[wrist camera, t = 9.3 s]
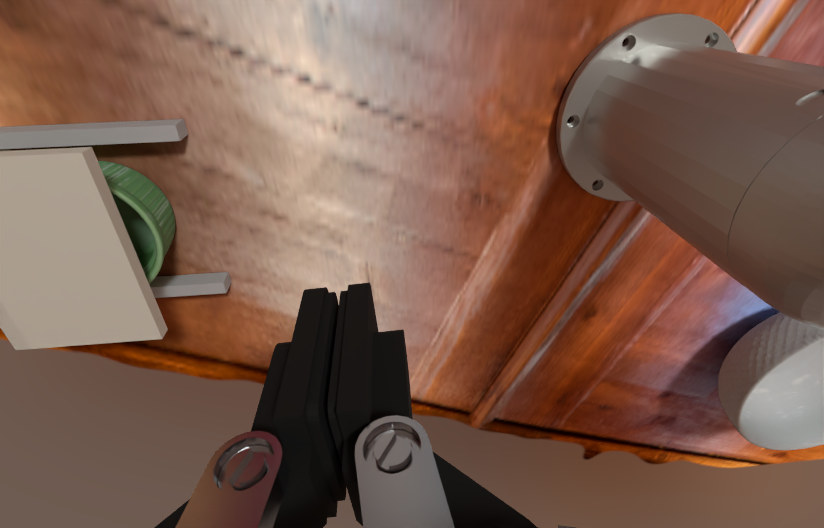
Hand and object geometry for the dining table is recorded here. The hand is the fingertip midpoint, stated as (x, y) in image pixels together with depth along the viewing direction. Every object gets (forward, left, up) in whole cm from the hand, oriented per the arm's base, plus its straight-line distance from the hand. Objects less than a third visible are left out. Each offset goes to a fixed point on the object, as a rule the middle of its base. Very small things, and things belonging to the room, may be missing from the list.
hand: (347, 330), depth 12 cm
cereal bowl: (-41, +24, -22) cm, 53 cm away
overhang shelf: (+18, +6, -22) cm, 29 cm away
